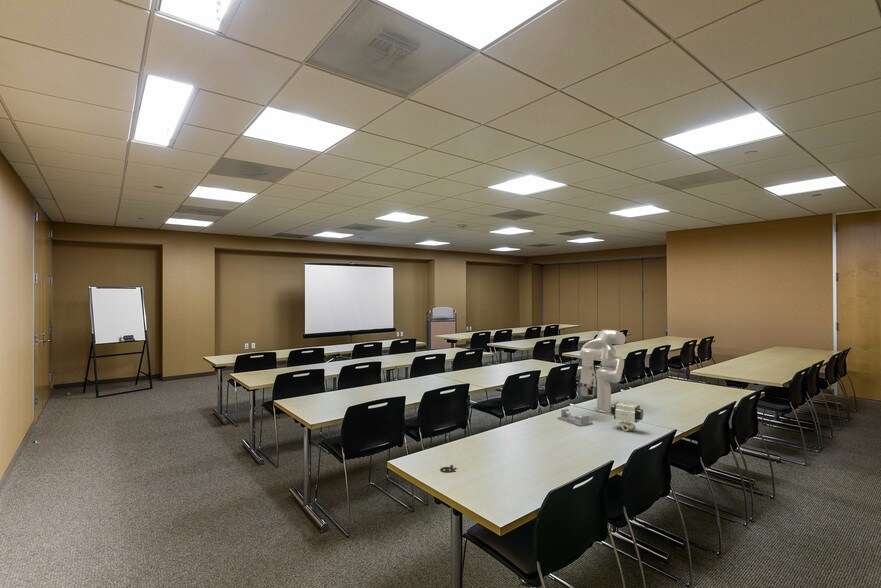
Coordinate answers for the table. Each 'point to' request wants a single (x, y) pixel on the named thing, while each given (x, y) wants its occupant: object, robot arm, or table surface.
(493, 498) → the table surface
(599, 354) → the robot arm
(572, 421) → the shaft stand
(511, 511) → the table surface
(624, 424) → the ball valve
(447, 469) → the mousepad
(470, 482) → the table surface
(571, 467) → the table surface
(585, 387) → the coupler
